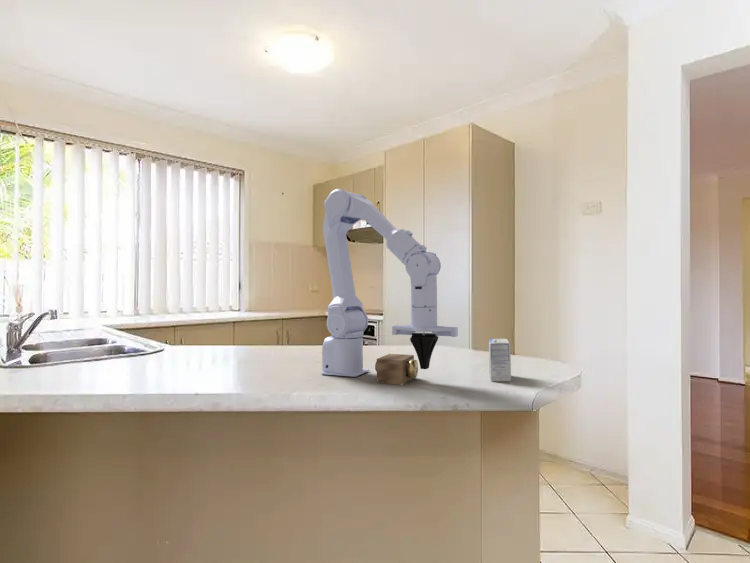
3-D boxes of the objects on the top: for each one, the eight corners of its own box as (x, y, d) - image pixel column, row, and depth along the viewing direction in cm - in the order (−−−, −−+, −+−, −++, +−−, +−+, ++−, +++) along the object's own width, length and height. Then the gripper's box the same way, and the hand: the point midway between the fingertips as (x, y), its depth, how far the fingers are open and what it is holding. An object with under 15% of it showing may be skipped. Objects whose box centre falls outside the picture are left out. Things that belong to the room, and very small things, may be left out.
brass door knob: (373, 376, 107) (373, 359, 107) (380, 373, 110) (380, 356, 110) (412, 379, 103) (412, 361, 103) (418, 376, 107) (417, 358, 107)
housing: (376, 382, 104) (376, 359, 104) (389, 375, 112) (389, 353, 112) (402, 384, 102) (402, 360, 102) (414, 377, 109) (413, 355, 109)
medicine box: (511, 382, 103) (510, 343, 103) (490, 381, 104) (489, 342, 104) (508, 375, 111) (508, 338, 111) (488, 374, 112) (488, 338, 112)
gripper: (386, 307, 103) (387, 369, 103) (452, 308, 98) (452, 373, 98) (397, 305, 110) (398, 364, 110) (459, 306, 104) (460, 367, 104)
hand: (424, 368), depth 104 cm, fingers closed
